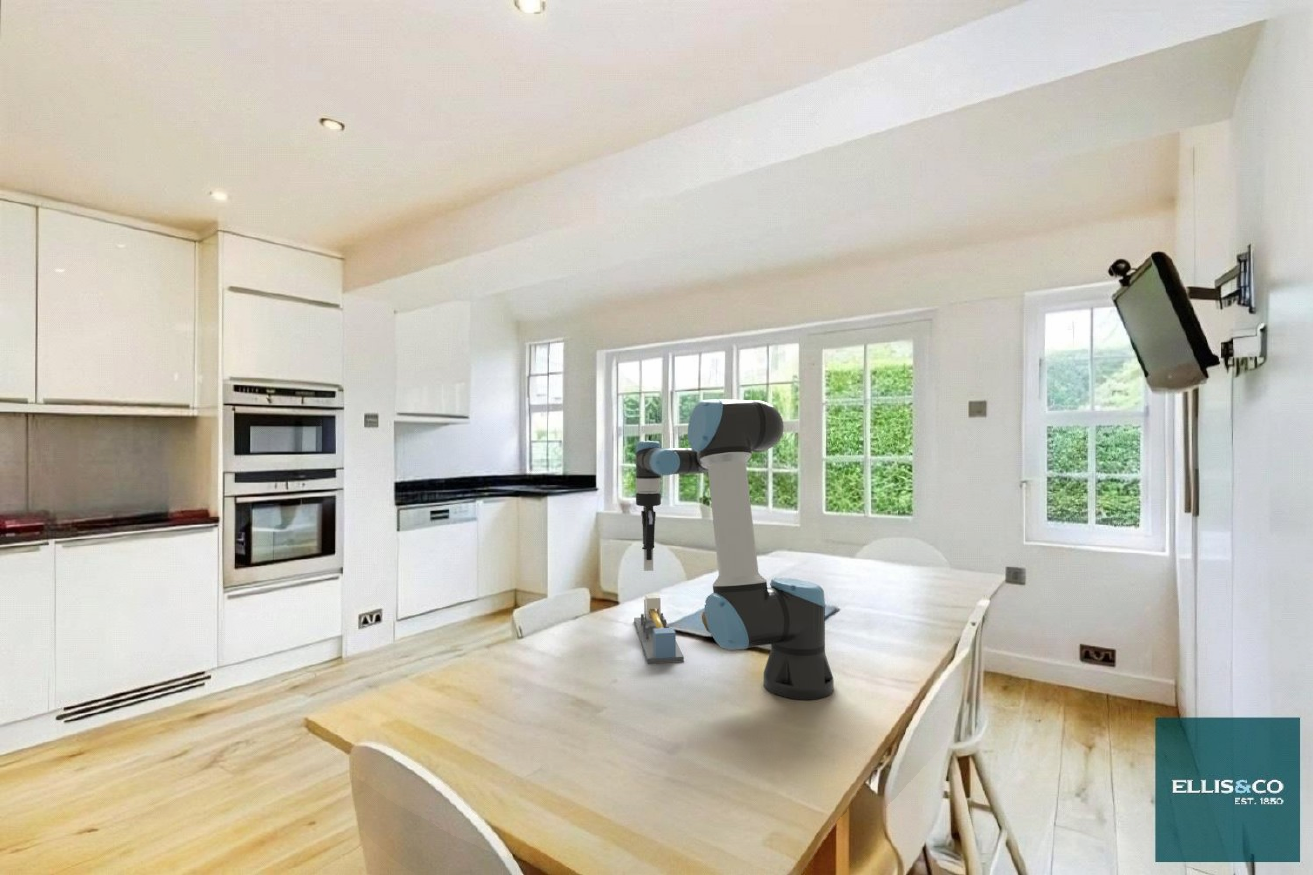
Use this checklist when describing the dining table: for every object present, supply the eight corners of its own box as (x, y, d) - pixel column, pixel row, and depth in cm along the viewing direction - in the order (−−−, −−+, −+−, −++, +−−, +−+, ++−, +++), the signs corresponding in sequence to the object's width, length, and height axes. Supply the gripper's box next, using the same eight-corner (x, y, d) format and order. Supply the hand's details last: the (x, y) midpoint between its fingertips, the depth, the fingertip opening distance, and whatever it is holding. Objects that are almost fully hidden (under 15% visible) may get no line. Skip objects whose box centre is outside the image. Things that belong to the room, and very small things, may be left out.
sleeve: (660, 620, 170) (660, 597, 170) (647, 620, 170) (647, 598, 170) (658, 615, 175) (658, 593, 175) (645, 615, 174) (645, 593, 174)
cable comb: (683, 661, 148) (683, 632, 148) (647, 663, 147) (647, 633, 147) (663, 620, 182) (663, 596, 182) (634, 621, 181) (634, 597, 181)
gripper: (663, 494, 175) (663, 574, 176) (657, 489, 188) (657, 565, 188) (638, 494, 174) (638, 575, 175) (633, 490, 187) (634, 565, 187)
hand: (648, 570), depth 181 cm, fingers closed
